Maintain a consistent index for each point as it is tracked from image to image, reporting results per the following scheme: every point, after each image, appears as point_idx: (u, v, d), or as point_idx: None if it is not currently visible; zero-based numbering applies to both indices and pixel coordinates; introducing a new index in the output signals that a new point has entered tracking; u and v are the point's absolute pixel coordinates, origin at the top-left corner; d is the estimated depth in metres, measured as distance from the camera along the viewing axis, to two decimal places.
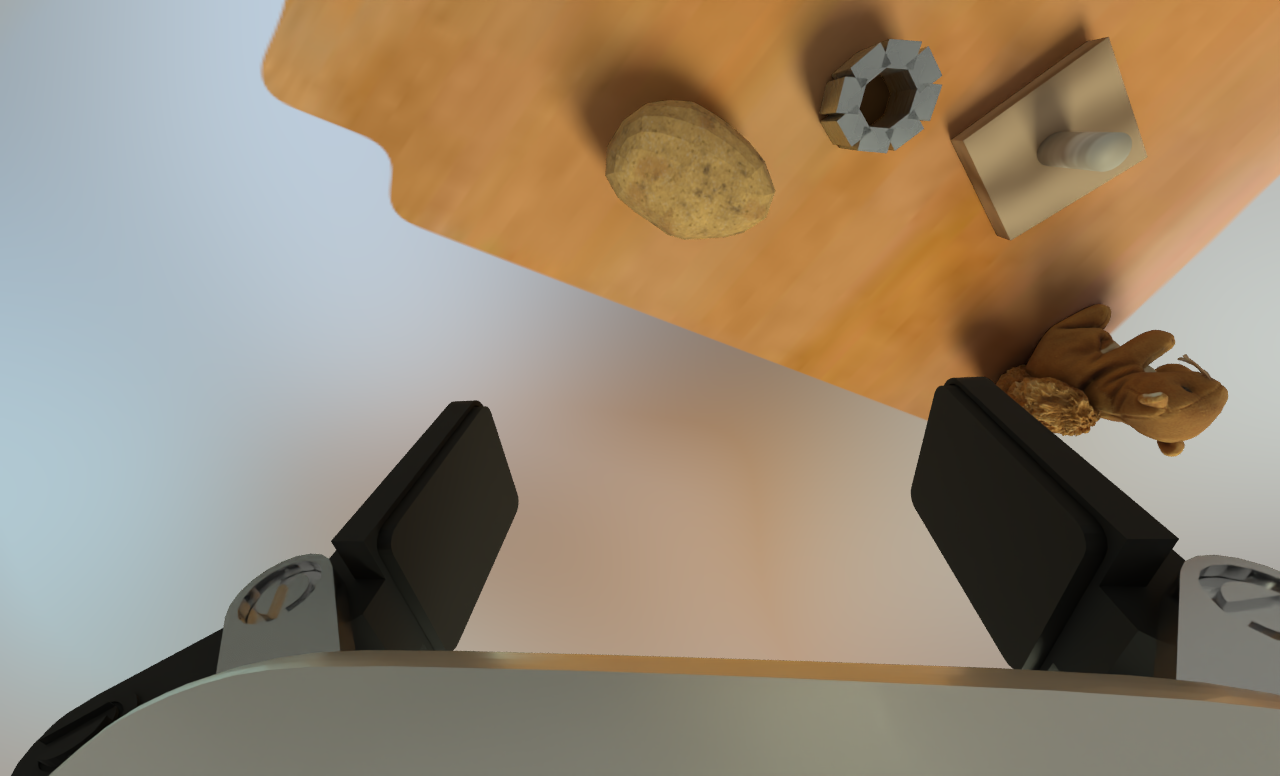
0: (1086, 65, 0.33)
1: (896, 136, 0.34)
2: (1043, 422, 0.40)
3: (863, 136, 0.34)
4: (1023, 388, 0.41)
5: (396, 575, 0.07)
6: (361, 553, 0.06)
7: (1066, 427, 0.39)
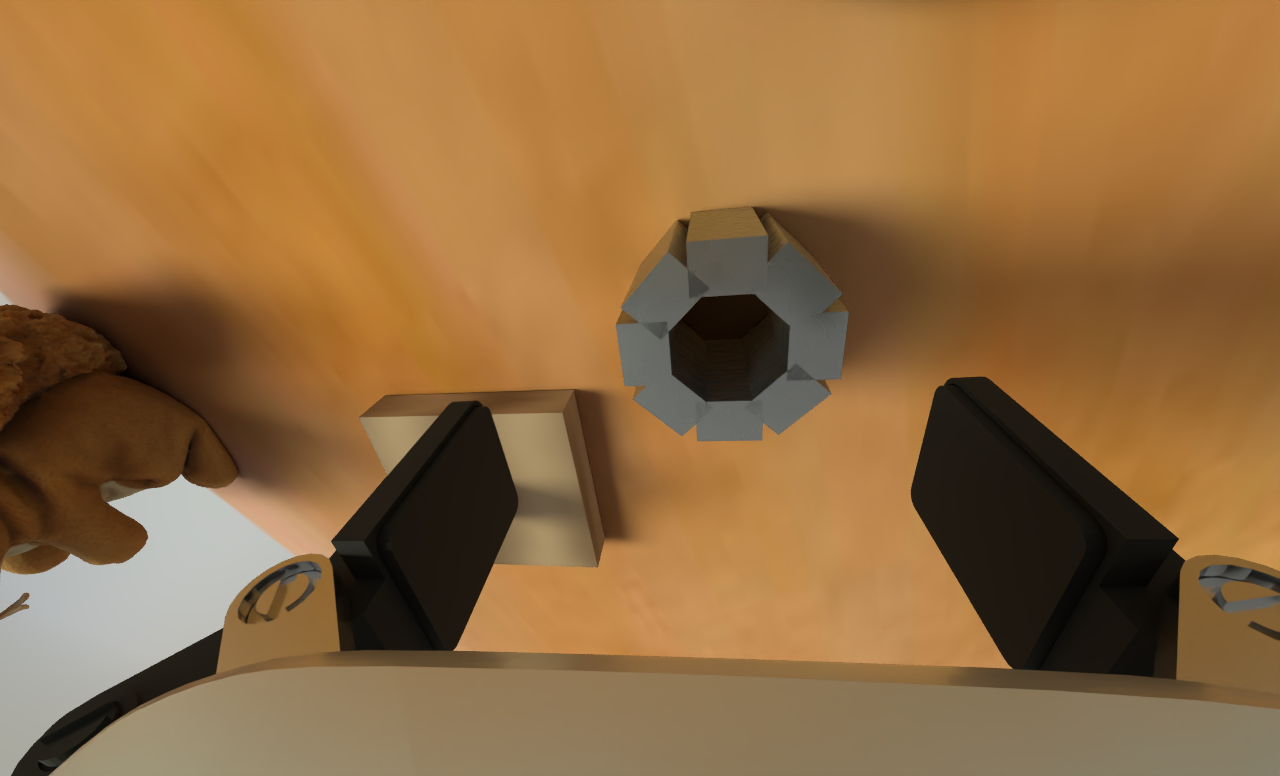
0: (577, 546, 0.24)
1: (642, 338, 0.14)
2: None
3: (689, 277, 0.13)
4: None
5: (396, 575, 0.07)
6: (361, 553, 0.06)
7: None
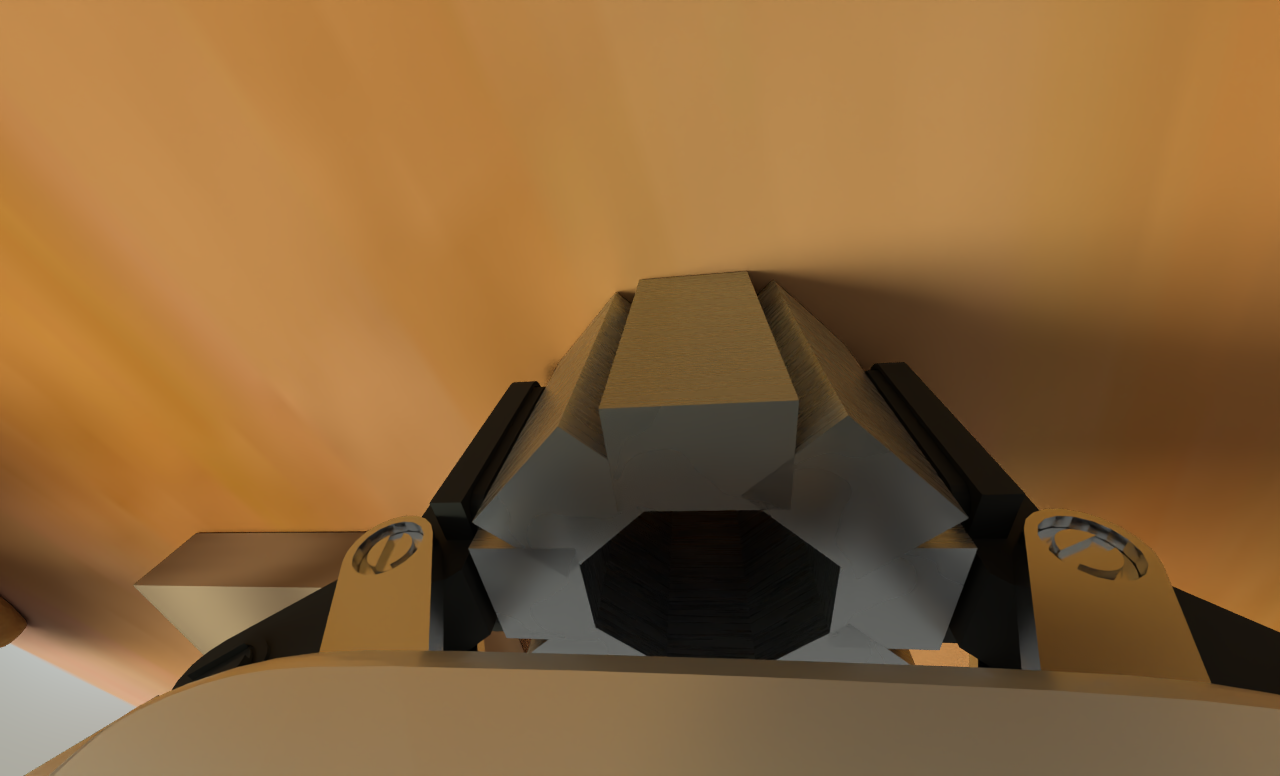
0: None
1: (527, 571, 0.07)
2: None
3: (614, 475, 0.06)
4: None
5: None
6: (456, 514, 0.07)
7: None
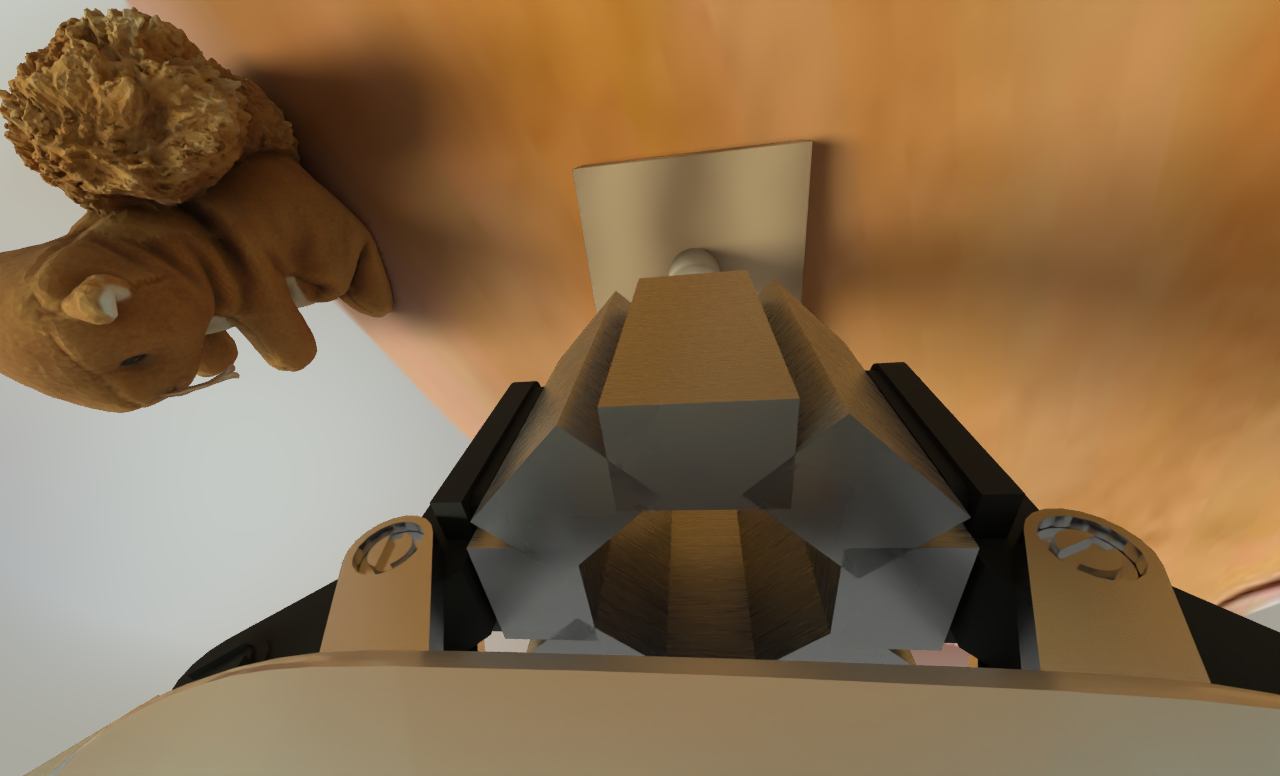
0: None
1: (525, 572, 0.07)
2: None
3: (613, 474, 0.06)
4: None
5: None
6: (456, 514, 0.07)
7: (28, 108, 0.13)
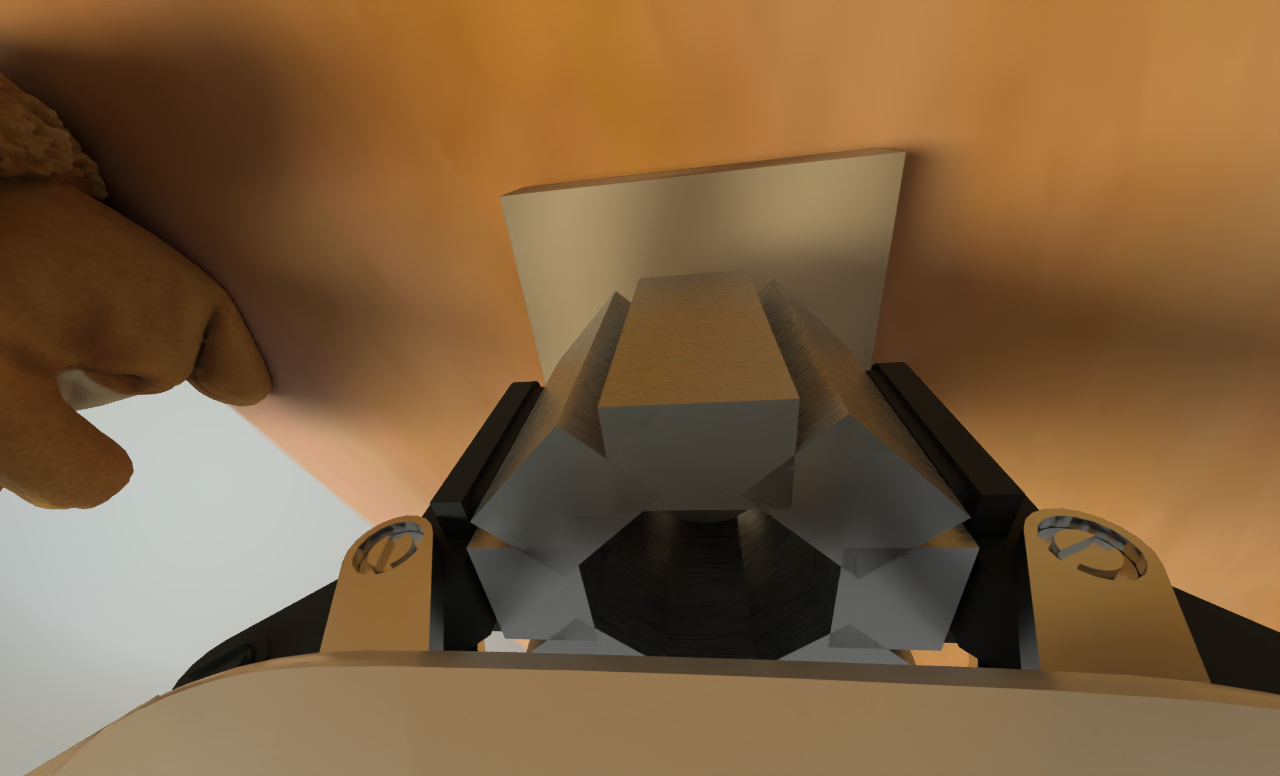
0: None
1: (525, 572, 0.07)
2: None
3: (613, 474, 0.06)
4: None
5: None
6: (456, 514, 0.07)
7: None
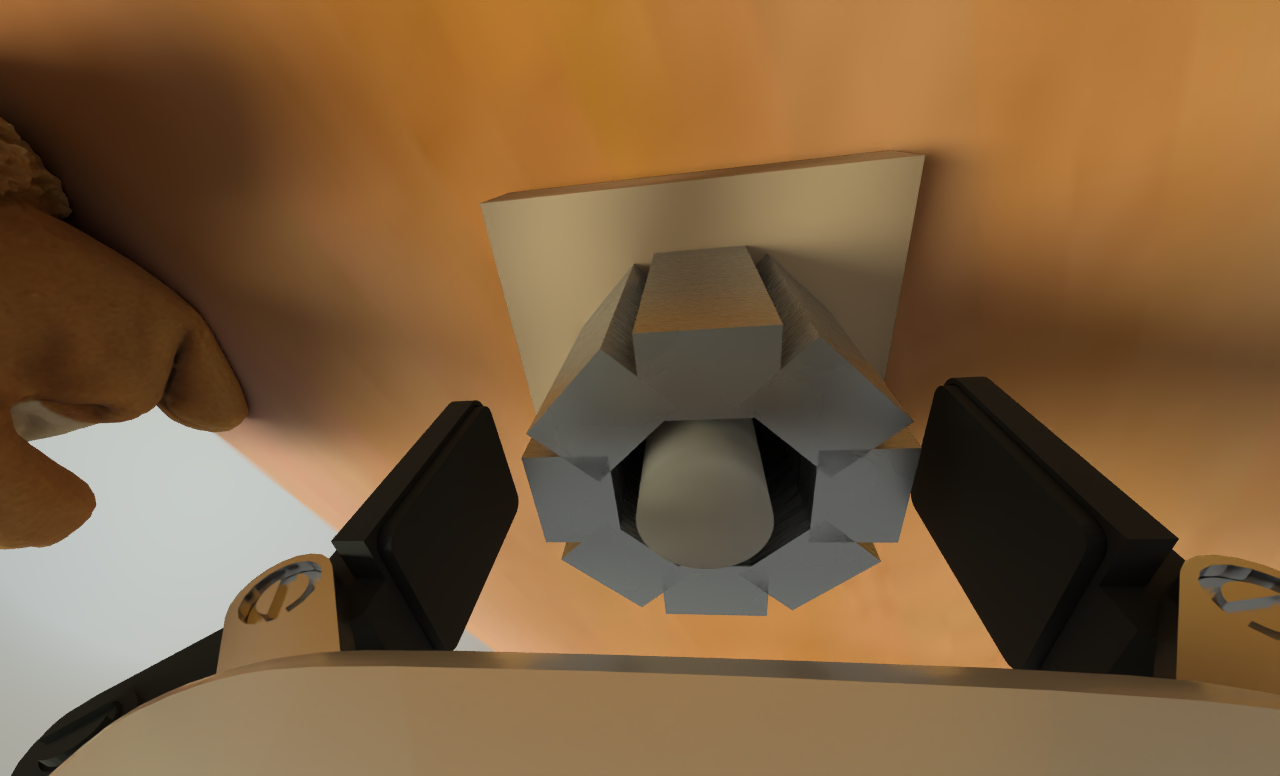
0: None
1: (567, 478, 0.08)
2: None
3: (641, 390, 0.07)
4: None
5: (396, 575, 0.07)
6: (361, 553, 0.06)
7: None
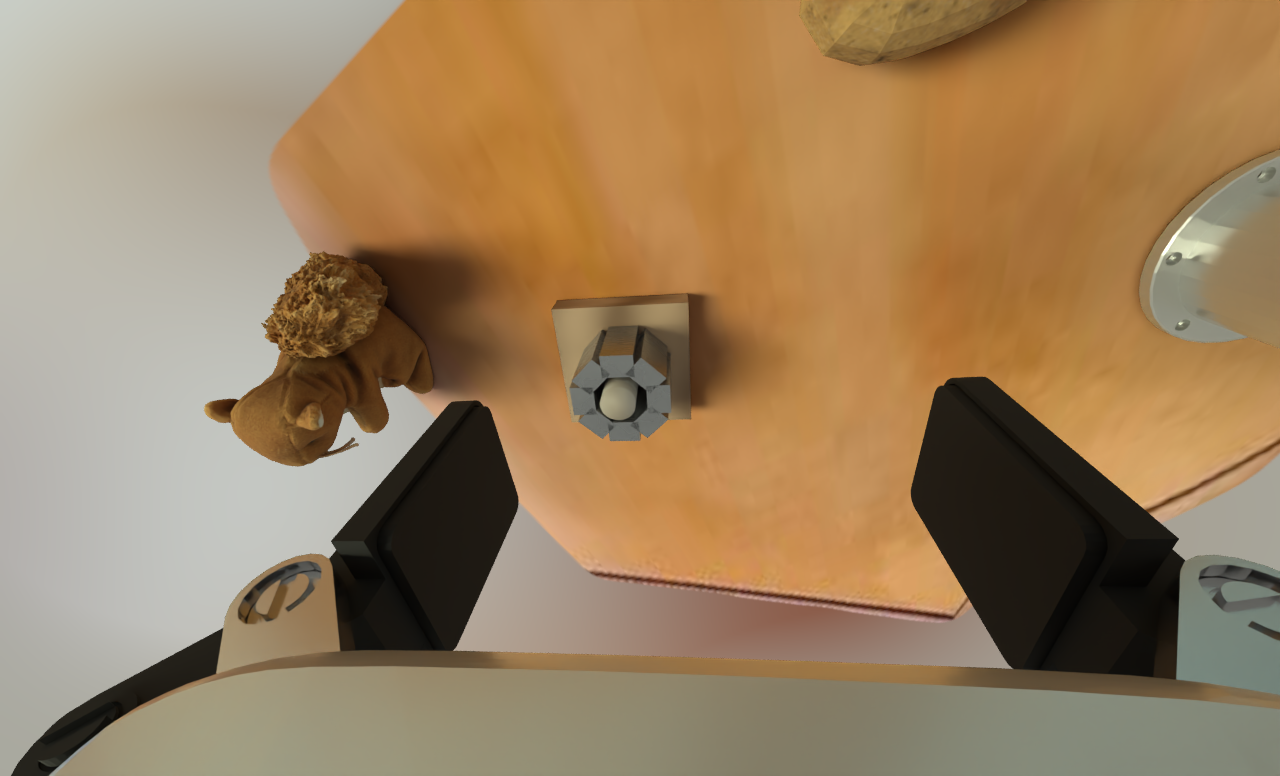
0: (680, 402, 0.36)
1: (581, 394, 0.31)
2: (304, 302, 0.27)
3: (601, 369, 0.30)
4: (367, 300, 0.29)
5: (396, 575, 0.07)
6: (361, 553, 0.06)
7: (287, 323, 0.27)
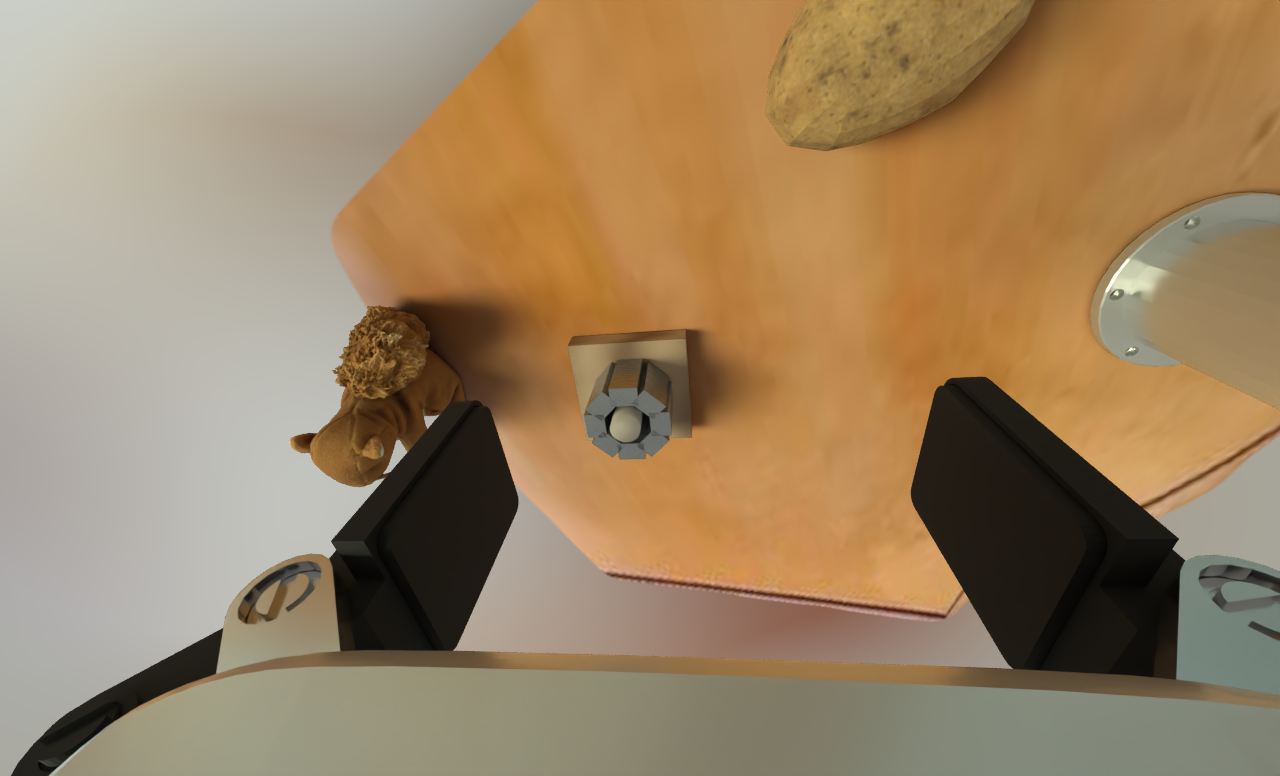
0: (681, 423, 0.41)
1: (594, 420, 0.36)
2: (368, 355, 0.33)
3: (610, 400, 0.35)
4: (417, 349, 0.35)
5: (396, 575, 0.07)
6: (361, 553, 0.06)
7: (355, 372, 0.33)
